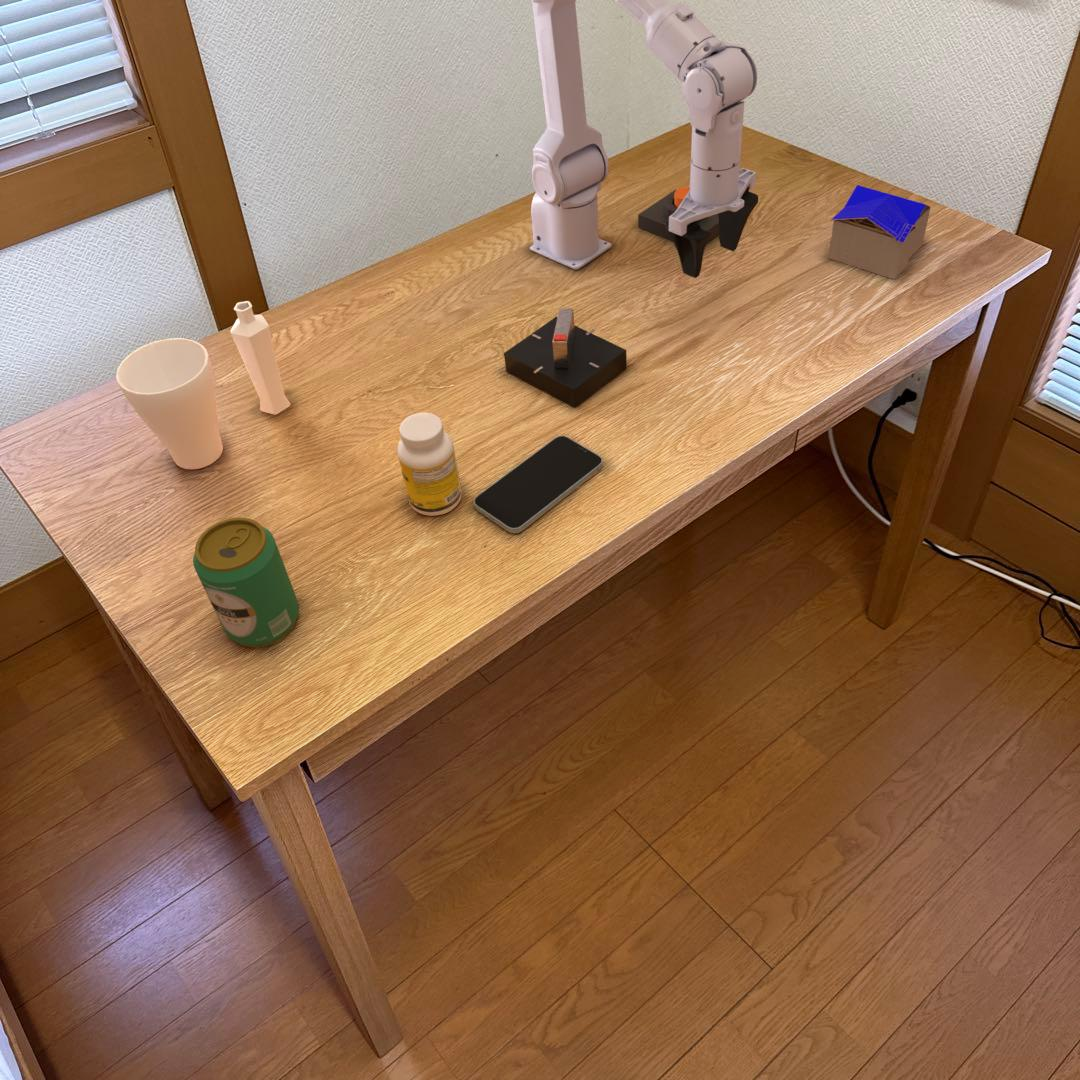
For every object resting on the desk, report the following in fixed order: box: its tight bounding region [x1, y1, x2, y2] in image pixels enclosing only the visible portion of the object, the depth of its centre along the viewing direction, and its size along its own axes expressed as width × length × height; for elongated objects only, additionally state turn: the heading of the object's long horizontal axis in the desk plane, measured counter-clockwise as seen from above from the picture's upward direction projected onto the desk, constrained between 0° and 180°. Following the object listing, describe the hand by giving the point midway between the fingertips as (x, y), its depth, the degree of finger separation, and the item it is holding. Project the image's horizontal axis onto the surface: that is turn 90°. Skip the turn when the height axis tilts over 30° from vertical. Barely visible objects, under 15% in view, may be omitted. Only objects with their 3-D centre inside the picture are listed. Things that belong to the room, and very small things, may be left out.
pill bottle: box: [396, 412, 463, 517], centre depth 116 cm, size 6×6×11 cm
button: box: [674, 186, 690, 207], centre depth 153 cm, size 4×4×2 cm
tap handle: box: [552, 308, 575, 368], centre depth 131 cm, size 7×2×4 cm, turn 172°
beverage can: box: [192, 517, 300, 648], centre depth 105 cm, size 8×8×12 cm
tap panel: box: [503, 316, 628, 409], centre depth 134 cm, size 12×11×3 cm
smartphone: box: [473, 435, 604, 534], centre depth 120 cm, size 7×1×15 cm
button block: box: [637, 189, 719, 244], centre depth 155 cm, size 11×9×4 cm
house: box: [827, 184, 932, 280], centre depth 145 cm, size 10×11×8 cm
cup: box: [115, 337, 224, 470], centre depth 124 cm, size 10×10×14 cm
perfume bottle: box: [229, 300, 292, 416], centre depth 129 cm, size 5×4×15 cm
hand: (709, 261), depth 132 cm, fingers open, 7 cm apart
